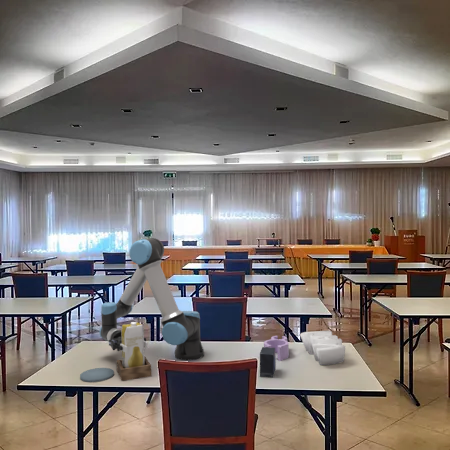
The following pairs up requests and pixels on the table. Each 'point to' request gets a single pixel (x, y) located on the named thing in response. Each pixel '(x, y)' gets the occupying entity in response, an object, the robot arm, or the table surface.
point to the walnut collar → (133, 371)
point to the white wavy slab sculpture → (324, 347)
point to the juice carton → (133, 345)
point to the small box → (267, 362)
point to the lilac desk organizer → (278, 346)
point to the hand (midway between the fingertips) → (137, 347)
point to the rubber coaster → (97, 374)
